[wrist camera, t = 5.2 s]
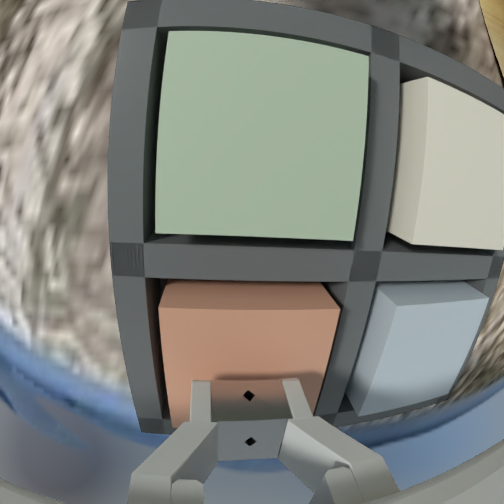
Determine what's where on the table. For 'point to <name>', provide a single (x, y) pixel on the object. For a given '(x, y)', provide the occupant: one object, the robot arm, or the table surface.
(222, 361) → the key terracotta
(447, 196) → the key cream
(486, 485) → the robot arm
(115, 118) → the keypad
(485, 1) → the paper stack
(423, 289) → the key bluegrey
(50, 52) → the table surface
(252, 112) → the key sage
